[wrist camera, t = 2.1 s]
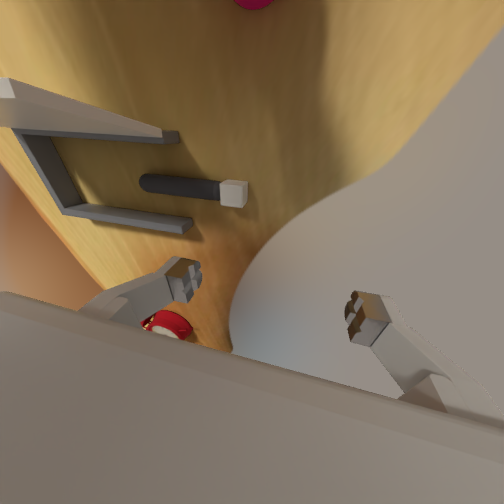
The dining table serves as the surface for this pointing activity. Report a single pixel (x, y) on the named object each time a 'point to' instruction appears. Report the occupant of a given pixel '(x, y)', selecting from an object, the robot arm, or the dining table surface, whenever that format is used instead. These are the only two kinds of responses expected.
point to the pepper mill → (253, 3)
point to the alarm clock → (168, 324)
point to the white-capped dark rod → (198, 188)
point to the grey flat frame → (66, 193)
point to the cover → (61, 113)
